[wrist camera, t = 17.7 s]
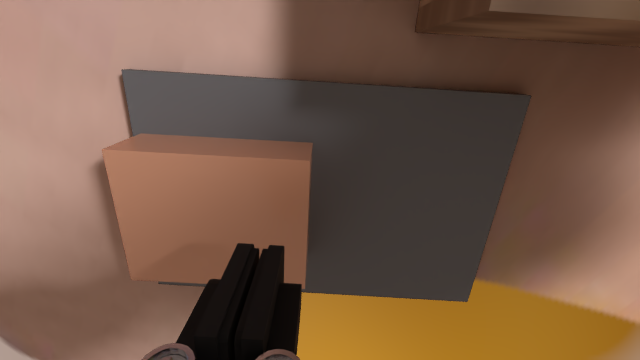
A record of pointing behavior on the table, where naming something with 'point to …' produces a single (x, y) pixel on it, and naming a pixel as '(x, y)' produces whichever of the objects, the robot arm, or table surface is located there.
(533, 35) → the open wooden box
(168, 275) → the block
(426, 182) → the mat
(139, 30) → the table surface
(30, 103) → the table surface
